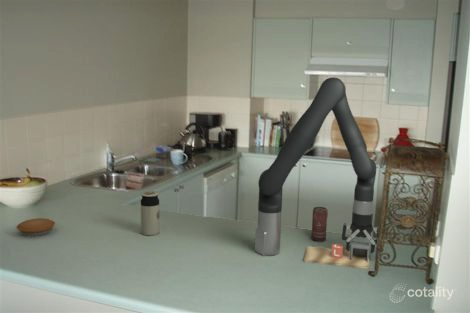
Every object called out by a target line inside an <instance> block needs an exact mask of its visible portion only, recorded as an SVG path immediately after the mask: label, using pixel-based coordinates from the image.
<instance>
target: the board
mask: <svg viewBox="0 0 470 313" xmlns="http://www.w3.org/2000/svg"><path fill="white" fill-rule="evenodd" d="M303 262H305V263H311V264H313V263H314V264H321V265H329V266H338V267H339V266H340V267H348V268H355V269H356V268H358V269H366V270H369V269H370V256H369V257H368V262H367V257H365V256H355V255H352V260H351V250H349V251H348V250H347V249H343V254H342V259H341V258H332V248H328V247H319V246H311V245H310V246H309V245H308V246H307V249H306V250H305V254H304V258H303Z"/></svg>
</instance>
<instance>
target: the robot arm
mask: <svg viewBox="0 0 470 313" xmlns="http://www.w3.org/2000/svg"><path fill="white" fill-rule="evenodd" d="M346 88H347V87H346V85H345V83H344V82H343V80H342V79H340V78H338V77H328V78H326V79H325V80H324V81H323V82H322V83H321V84H320V87H319V88H318V91H317V92H316V94H315V96H314V98H313V99H312V102H311V103H310V105H309V107H307V108H306V110H305V111H304V113H303V114H302V115H301V116H300V118H298V119H297V121H296V123H295V124H294V125H293V127H292V129H291V130H290V131H289V132H288V135H286V138H285V140H283V143H282V146H281V147H280V148H279V149H280V150H279V151H278V154H277V156H276V158H275V159H274V161H273V162H272V164H271V165H270V166H269V167H268V169H265V170H263V171H262V172H261V174H260V175H259V178H258V184H257V185H258V203H257V204H258V205H257V227H256V228H255V230H254V231H255V234H254V236H255V238H254V240H255V241H254V245H255V246H254V251H255V252H257V253H258V254H259V255H261V256H264V257H266V256H268V257H269V256H276V255H279V254H280V253H281V235H282V234H281V233H282V232H281V231H282V230H281V229H282V207H283V206H282V205H283V186H284V185H285V182H286V180H287V179H288V176H289V175H290V173H291V171H292V170H293V169H294V167H295V166H296V165H298V162H299V161H300V160H301V159H302V158H303V156H304V155H305V153H307V151H308V150H309V148H310V147H311V145H312V144H313V143H314V141H315V139H316V137H317V136H318V135H319V132H320V130H321V128H322V126H323V124H324V123H325V120H326V118H327V117H328V115H329V114H330V113H331V111H332V113H333V115H334V117H335V119H336V122H337V126H338V129H339V132H340V135H341V138H342V141H343V142H344V146H345V148H346V150H347V152H348V154H349V158H350V161H351V162H350V163H351V166H352V170H353V171H354V172H355V173H354V174H355V175H356V184H355V187H354V196H353V202H352V212H351V224H347V223H346V222H344V223H343V224H342V233H341V240H342V241H345V250H348V251H350V250H351V249H350V247H351V240H353V238H355V237H356V238H363V239H366V238H367V239H368V240H369V241H370V250H369V254H373V253H375V249H376V244H377V237H378V227H380V226H377V227H376V226H375V227H374V226H373V219H374V218H373V217H374V195H375V188H374V187H375V182H376V176H377V164H376V162H375V160H373V159H372V158H370V155H369V152H368V147H367V143H366V141H365V138H364V136H363V134H362V131H361V129H360V127H359V125H358V123H357V121H356V119H355V117H354V115H353V113H352V110H351V107H350V105H349V101H348V98H347V96H348V95H347V90H346ZM349 229H350V231H351V232H350V233H349V235H348V236H346V234H347V232H346V231H348V230H349ZM373 231H374V233H375V234H376V238H374V237H373V234H371V233H373Z"/></svg>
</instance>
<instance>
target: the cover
mask: <svg viewBox="0 0 470 313" xmlns="http://www.w3.org/2000/svg"><path fill="white" fill-rule="evenodd" d="M350 247H351V249H350V251H351V260H352V255H355V256H365V257H367V262H368V257H369V258H370V242H364V241H363V242H362V241H351V246H350Z"/></svg>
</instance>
